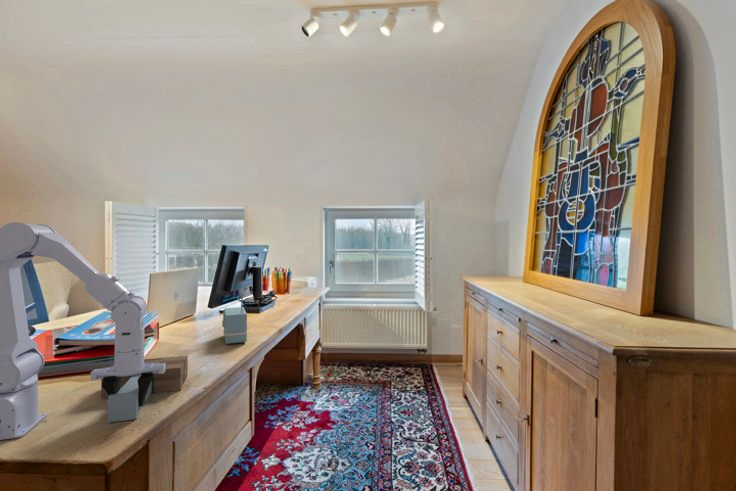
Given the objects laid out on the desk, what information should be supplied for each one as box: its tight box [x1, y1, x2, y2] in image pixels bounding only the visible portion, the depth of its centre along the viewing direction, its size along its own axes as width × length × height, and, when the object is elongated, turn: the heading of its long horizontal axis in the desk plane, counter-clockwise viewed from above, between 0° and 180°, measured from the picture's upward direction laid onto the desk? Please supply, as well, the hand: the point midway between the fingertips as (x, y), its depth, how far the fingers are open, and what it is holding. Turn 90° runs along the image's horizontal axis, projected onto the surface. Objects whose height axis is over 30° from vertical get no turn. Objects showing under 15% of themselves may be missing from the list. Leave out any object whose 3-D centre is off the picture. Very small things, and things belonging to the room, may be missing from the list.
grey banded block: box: [221, 293, 248, 345], centre depth 140 cm, size 16×9×20 cm, turn 25°
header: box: [100, 355, 189, 400], centre depth 94 cm, size 10×18×6 cm, turn 109°
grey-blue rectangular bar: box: [107, 375, 154, 424], centre depth 84 cm, size 17×5×6 cm, turn 19°
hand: (129, 406), depth 80 cm, fingers closed on grey-blue rectangular bar, 4 cm apart
